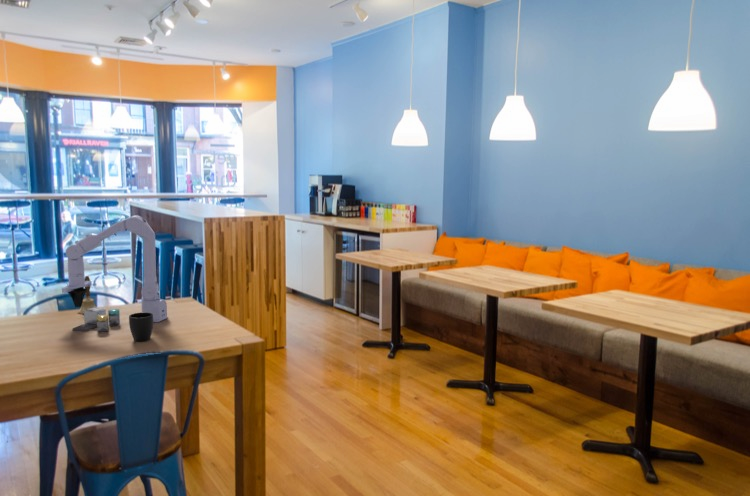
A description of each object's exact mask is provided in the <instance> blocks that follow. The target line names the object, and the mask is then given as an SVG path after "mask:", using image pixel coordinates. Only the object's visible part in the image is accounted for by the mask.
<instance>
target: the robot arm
mask: <svg viewBox="0 0 750 496" xmlns="http://www.w3.org/2000/svg"><path fill="white" fill-rule="evenodd" d="M127 231H128V232H130V233H132V234H135V235H137V236H138V237H139V238H141V239H142V245H143V246H142V247H143V251H142V252H143V254H142V255H143V283H142V284H143V286H142V288H141V291H140V293H141V294H140V295H141V312H149V313H152V314H153V323H160V322H161V321H163V320H166V319H168V318H169V316H168V309H167V308H168V305H167V301H166V300H165V299H163V298H161V296H160V295H159V294H158V293H159V291H160V286H159V283H158V278H157V261H156V260H157V256H156V233H155V231H154V230H153V229H152V227H151V226H150V224H149V222H148V221H147V219H145V218H144V217H142V216H141V215H139V214H136V215H135V214H134V215H132V216H130V217H127V218H124V219H122V220H119V221H117V222H115V223H114V224H112V225H111V226H109V227H107V228H105V229H104V230H103V231H101V232H98V233H93V232H92V233H87V234H86V235H85V237H83V238H82V239H80V240H75V241H74V243H72V244H70V245H69V246H68V247H67V248H66V249H65V256H66V258H67V272H68V273H67V274H68V283H66V285H65V286H63V287H61V293H63V294H68V295H69V297H70V298H71V299H72V302H73V305H74V307H75V308H81V306H82V302H83V300H84V299H85V296H86V292H87V289H86V288H85V287H87V286H90V287H91V286H92V285H93V284H92V281H91V280H90V281H85V276H86V275H85V262H84V254H88V253H90V252H91V251H94V250H95V249H96V248H99V247H100V246H101V245H102V241H104V240H105V239H108V238H109V237H111V236H113V235H115V234H118V232H125V233H126V232H127Z"/></svg>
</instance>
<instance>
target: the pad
mask: <svg viewBox="0 0 750 496" xmlns="http://www.w3.org/2000/svg"><path fill="white" fill-rule="evenodd" d="M93 329H97V325H88V324H85V323H84V324H83V323H82V324H80V325H78V326H75V327H72V331H76V332H77V331H79V332H80V331H81V332H89V331H91V330H93Z"/></svg>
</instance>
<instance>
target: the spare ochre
mask: <svg viewBox="0 0 750 496" xmlns="http://www.w3.org/2000/svg"><path fill="white" fill-rule="evenodd" d="M96 329H97V330H96V331H97V333H99V334H101V333H102V334H103V333H108V332H109V331H110V326H109V315H107V314H106V315H100V316H97V327H96Z"/></svg>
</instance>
